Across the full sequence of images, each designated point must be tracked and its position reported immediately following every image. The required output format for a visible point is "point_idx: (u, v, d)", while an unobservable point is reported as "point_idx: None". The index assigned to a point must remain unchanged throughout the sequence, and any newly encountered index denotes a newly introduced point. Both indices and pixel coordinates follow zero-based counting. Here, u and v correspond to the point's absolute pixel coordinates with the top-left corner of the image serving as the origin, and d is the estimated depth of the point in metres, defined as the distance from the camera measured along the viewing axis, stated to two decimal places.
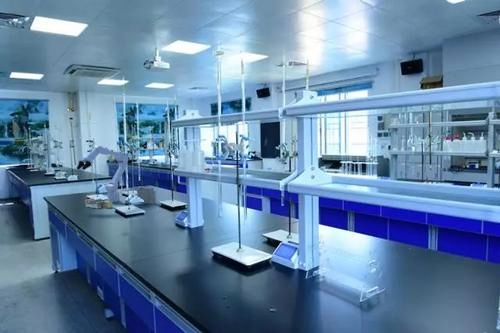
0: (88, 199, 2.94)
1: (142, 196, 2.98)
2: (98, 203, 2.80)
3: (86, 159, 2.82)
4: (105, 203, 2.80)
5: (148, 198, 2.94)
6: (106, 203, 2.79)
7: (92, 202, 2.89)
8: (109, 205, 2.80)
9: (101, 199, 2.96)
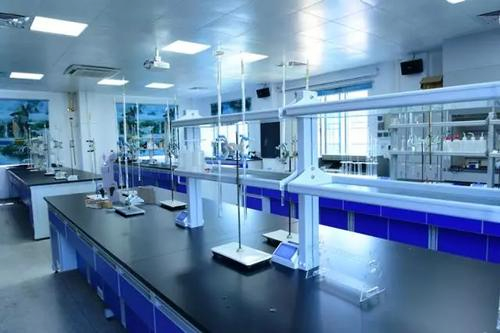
0: (88, 199, 2.94)
1: (142, 196, 2.98)
2: (98, 203, 2.80)
3: (110, 186, 2.81)
4: (105, 203, 2.80)
5: (148, 198, 2.94)
6: (106, 203, 2.79)
7: (92, 202, 2.89)
8: (109, 205, 2.80)
9: (101, 199, 2.96)
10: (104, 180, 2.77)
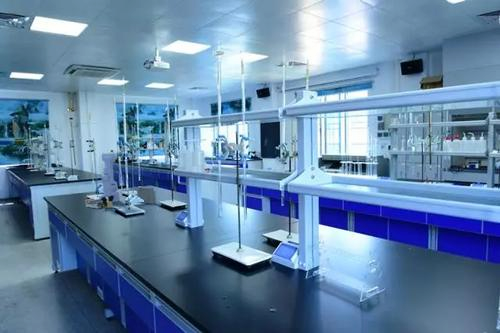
0: (88, 199, 2.94)
1: (142, 196, 2.98)
2: (98, 203, 2.80)
3: (111, 195, 2.81)
4: None
5: (148, 198, 2.94)
6: None
7: (92, 202, 2.89)
8: (109, 205, 2.80)
9: None
10: (105, 189, 2.78)
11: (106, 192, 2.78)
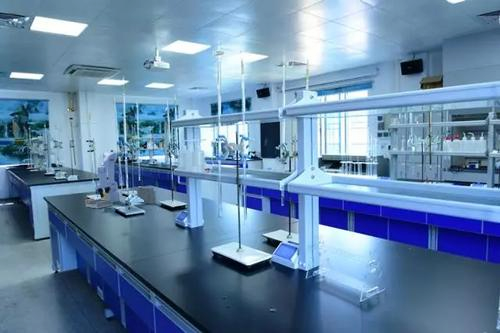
0: (88, 199, 2.94)
1: (142, 196, 2.98)
2: (98, 203, 2.80)
3: (107, 186, 2.83)
4: None
5: (148, 198, 2.94)
6: (103, 195, 2.81)
7: (92, 202, 2.89)
8: (106, 197, 2.82)
9: (101, 199, 2.96)
10: (100, 180, 2.80)
11: (102, 183, 2.80)
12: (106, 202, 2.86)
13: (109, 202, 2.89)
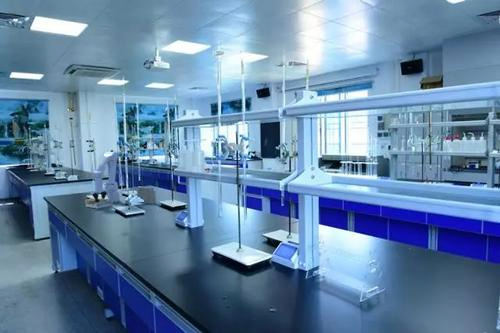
0: (88, 199, 2.94)
1: (142, 196, 2.98)
2: (98, 203, 2.80)
3: (103, 191, 2.87)
4: None
5: (148, 198, 2.94)
6: (98, 200, 2.85)
7: (92, 202, 2.89)
8: None
9: None
10: (95, 185, 2.84)
11: (98, 188, 2.84)
12: (106, 202, 2.86)
13: (109, 202, 2.89)
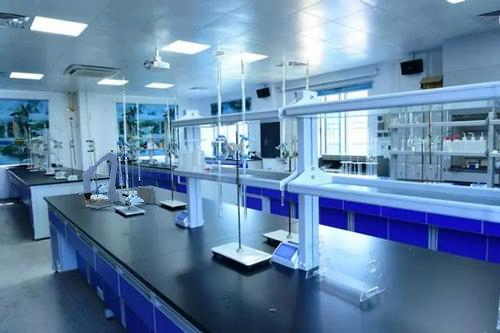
0: (88, 199, 2.94)
1: (142, 196, 2.98)
2: (98, 203, 2.80)
3: (91, 191, 2.96)
4: (97, 200, 2.85)
5: (148, 198, 2.94)
6: (98, 200, 2.85)
7: (92, 202, 2.89)
8: None
9: None
10: None
11: (86, 189, 2.93)
12: (106, 202, 2.86)
13: (109, 202, 2.89)
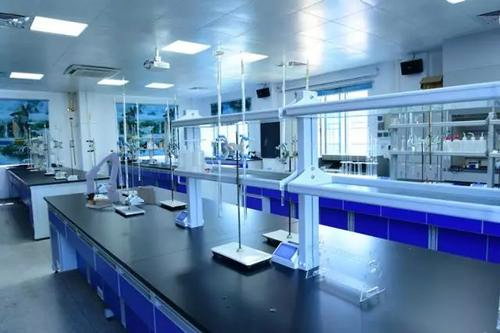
0: None
1: (142, 196, 2.98)
2: (98, 203, 2.80)
3: (94, 191, 2.94)
4: (98, 200, 2.85)
5: (148, 198, 2.94)
6: (99, 200, 2.84)
7: None
8: None
9: None
10: None
11: (91, 189, 2.90)
12: (106, 202, 2.86)
13: (109, 202, 2.89)
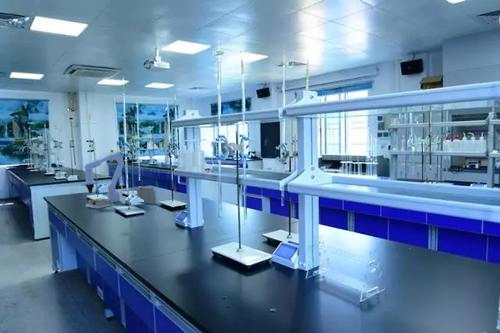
0: None
1: (142, 196, 2.98)
2: (98, 203, 2.80)
3: (93, 183, 2.98)
4: (98, 200, 2.85)
5: (148, 198, 2.94)
6: (99, 200, 2.84)
7: None
8: None
9: None
10: None
11: (88, 180, 2.95)
12: (106, 202, 2.86)
13: (109, 202, 2.89)
